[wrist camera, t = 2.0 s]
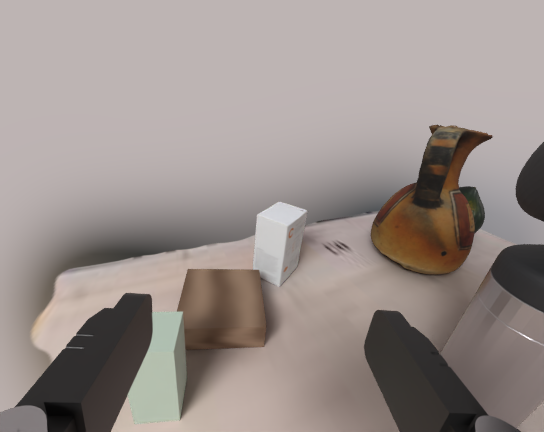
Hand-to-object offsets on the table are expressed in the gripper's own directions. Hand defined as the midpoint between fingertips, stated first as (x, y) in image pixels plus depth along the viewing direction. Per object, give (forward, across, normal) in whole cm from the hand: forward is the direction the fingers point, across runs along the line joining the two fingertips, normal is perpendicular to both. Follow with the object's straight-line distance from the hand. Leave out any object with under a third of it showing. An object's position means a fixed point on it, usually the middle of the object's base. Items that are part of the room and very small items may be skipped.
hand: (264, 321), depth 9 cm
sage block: (+13, +8, +24) cm, 29 cm away
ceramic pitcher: (+45, -39, +20) cm, 62 cm away
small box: (+37, -6, +21) cm, 43 cm away
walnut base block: (+26, +3, +22) cm, 34 cm away
